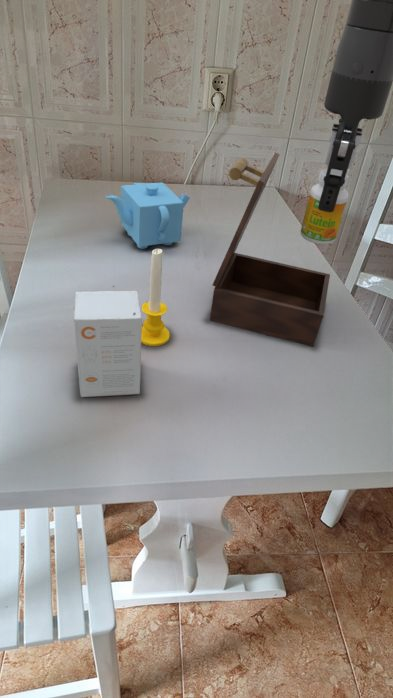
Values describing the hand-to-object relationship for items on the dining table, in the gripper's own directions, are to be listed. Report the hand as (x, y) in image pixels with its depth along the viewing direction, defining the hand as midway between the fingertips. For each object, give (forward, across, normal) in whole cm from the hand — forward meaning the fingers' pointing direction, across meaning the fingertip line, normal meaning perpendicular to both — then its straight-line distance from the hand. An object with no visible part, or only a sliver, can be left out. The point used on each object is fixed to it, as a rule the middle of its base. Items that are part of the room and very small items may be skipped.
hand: (327, 202), depth 71 cm
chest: (+21, +1, +5) cm, 22 cm away
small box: (+22, -26, +23) cm, 41 cm away
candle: (+22, -14, +21) cm, 33 cm away
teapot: (+22, +17, +34) cm, 44 cm away
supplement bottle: (+6, 0, 0) cm, 6 cm away
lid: (+6, +1, +11) cm, 13 cm away
